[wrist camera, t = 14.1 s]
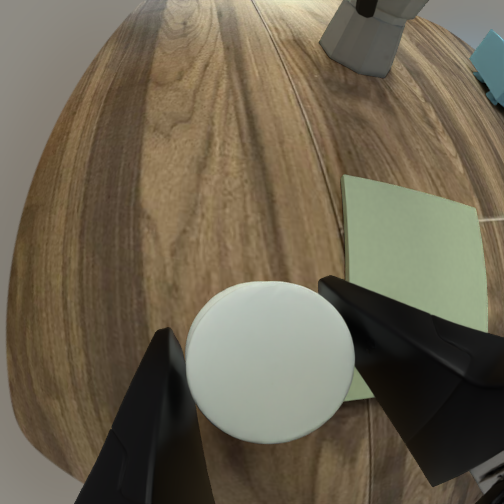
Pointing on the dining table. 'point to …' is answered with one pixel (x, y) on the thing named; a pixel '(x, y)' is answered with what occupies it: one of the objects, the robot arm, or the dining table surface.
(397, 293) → the mat
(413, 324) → the robot arm
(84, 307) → the dining table surface
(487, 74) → the teapot
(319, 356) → the pill bottle
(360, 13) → the coffee maker
